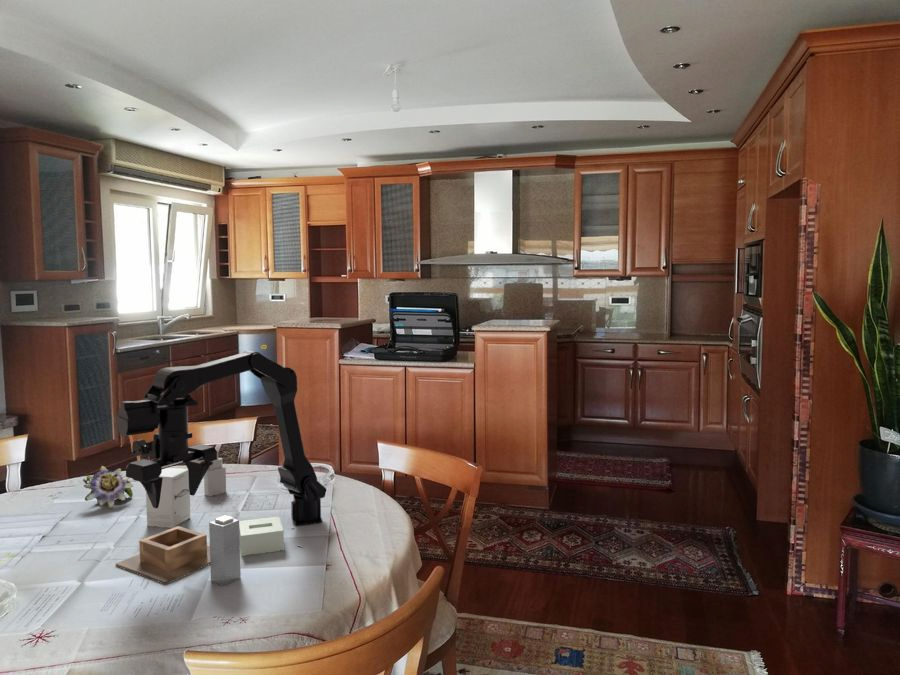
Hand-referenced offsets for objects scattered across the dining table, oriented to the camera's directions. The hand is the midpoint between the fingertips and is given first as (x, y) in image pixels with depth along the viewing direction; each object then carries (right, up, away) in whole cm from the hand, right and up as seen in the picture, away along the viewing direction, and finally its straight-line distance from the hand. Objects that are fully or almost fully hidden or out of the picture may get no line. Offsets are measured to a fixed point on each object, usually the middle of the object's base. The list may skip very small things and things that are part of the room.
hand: (174, 501), depth 139 cm
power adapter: (-7, -9, +45) cm, 46 cm away
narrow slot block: (+16, -12, +9) cm, 22 cm away
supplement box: (-11, -11, +23) cm, 28 cm away
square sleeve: (-1, -13, +1) cm, 13 cm away
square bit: (+13, -14, -7) cm, 20 cm away
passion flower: (-33, -10, +36) cm, 50 cm away
